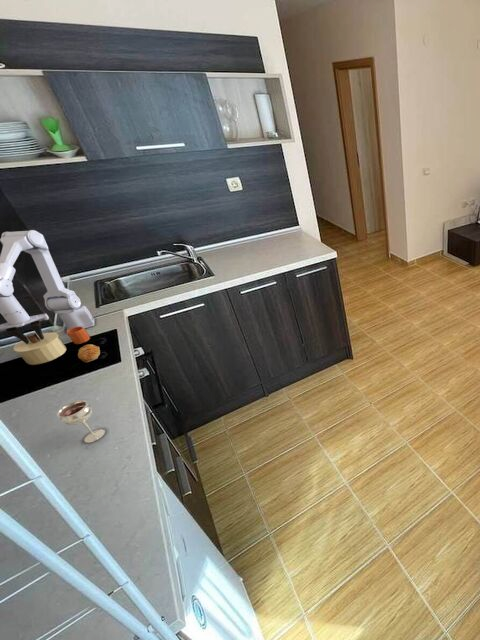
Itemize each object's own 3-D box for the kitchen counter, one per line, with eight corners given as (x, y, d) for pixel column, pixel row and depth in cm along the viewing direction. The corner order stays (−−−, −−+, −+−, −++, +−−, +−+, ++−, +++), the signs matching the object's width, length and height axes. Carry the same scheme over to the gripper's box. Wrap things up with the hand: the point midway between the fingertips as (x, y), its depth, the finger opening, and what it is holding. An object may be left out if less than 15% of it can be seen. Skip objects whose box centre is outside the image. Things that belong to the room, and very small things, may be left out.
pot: (66, 342, 148) (57, 330, 144) (66, 356, 140) (56, 343, 137) (27, 354, 141) (17, 341, 138) (24, 368, 134) (13, 355, 130)
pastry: (103, 358, 138) (98, 351, 136) (81, 366, 135) (75, 358, 132) (100, 348, 144) (95, 341, 142) (79, 355, 140) (73, 348, 138)
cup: (90, 335, 152) (83, 324, 149) (90, 340, 149) (83, 330, 146) (74, 339, 149) (66, 329, 146) (73, 345, 146) (66, 335, 143)
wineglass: (93, 446, 103) (70, 419, 97) (74, 443, 104) (50, 416, 98) (114, 428, 109) (93, 401, 102) (96, 425, 110) (74, 398, 103)
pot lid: (60, 330, 145) (53, 321, 143) (58, 344, 137) (51, 335, 134) (17, 342, 138) (9, 333, 136) (13, 358, 130) (5, 348, 127)
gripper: (-18, 322, 123) (7, 352, 130) (38, 308, 131) (59, 337, 138) (-15, 314, 127) (10, 344, 135) (39, 301, 135) (60, 330, 142)
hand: (35, 340), depth 137 cm, fingers open, 4 cm apart
